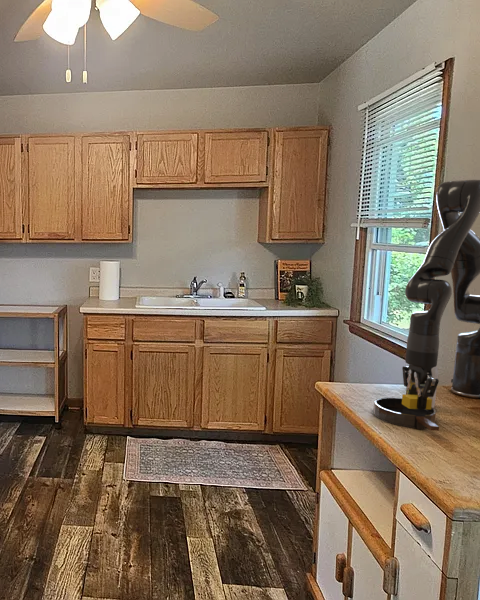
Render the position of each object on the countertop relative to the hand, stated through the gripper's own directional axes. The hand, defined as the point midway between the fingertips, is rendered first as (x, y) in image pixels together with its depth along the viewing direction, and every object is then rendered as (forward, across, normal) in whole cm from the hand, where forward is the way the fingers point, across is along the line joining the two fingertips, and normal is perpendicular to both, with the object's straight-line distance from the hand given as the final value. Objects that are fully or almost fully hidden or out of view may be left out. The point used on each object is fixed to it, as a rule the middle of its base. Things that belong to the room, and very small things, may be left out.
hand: (416, 405), depth 144 cm
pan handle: (+4, -10, +2) cm, 11 cm away
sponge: (0, 0, 0) cm, 0 cm away
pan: (+4, +2, +2) cm, 5 cm away
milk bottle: (+4, +12, -8) cm, 15 cm away
